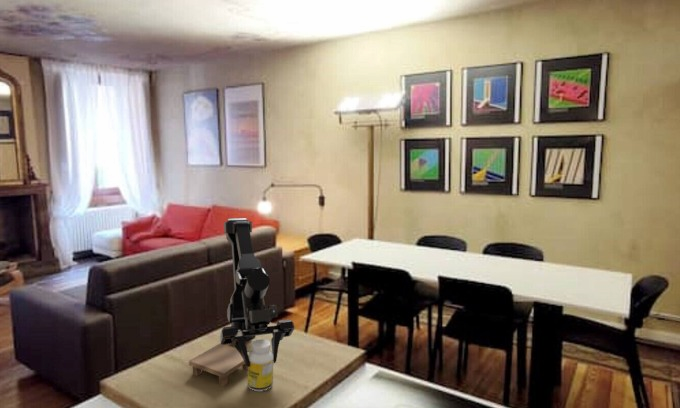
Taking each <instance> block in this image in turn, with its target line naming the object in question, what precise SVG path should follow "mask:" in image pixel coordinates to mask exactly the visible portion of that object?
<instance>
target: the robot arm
mask: <svg viewBox="0 0 680 408" xmlns="http://www.w3.org/2000/svg"><path fill="white" fill-rule="evenodd" d="M252 222H253V221H251V220H248V218H246V217H238V218H235V217H233V218H232V217H231V218H229V217H228V218H227V221H224V222H223V233H224V234H225V236H226V237H225V238H226V240H227V242H228V243H229V244H230V246H231V254H232V269H233V270H232V271H233V287H234V291H233V293H232V294H231V297H230V299H229V300H230V301H229V302H230V303H228V307H227V310H226V315H227V320H228V323H230V324H231V325H230V326H224V327H223V328H222V329H221V330H220V331H221V332H220V334H219V335H220V337H219V339H220V340H219V341H220V343H221V344H222V345H230V347H234V348H236V349H237V350H238V352H239V353H240V354H241V356H242V358H243V360H244V362H245V363H246V365H247V367H249V357H248V353H247V352H248V349H247V345H246V341H249V340H250V339H253V338H255V337H256V336H264V335H272V338H271V339H270V341H271V342H270V345H271V351H272V353H273V355H274V361H273V364H275V363H277V358H278V354H279V353H278V351H279V346H280V341H282V340H283V339H284V338H287V337H288V338H289V337H290V336H291V335H292V334H293V332H294V331H295V324H294V322H293V320H291V319H285V320H283V319H282V320H278V321H277V324H276V325H271V326H269V325H270V323H271V321H272V318H278V307H277V304H270V305H268V306H267V307H266V304H265V299H264V297H265V296H266V293H267V291H268V288H269V285H270V281H271V280H270V277H269V275H268V273H267V272H266V271H265V269H264V268H263V267H262V264H261V261H260V260H259V258H257V257H256V256H255V253H254V247H253V240H252V235H251V233H252V232H253V223H252Z"/></svg>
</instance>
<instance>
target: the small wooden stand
mask: <svg viewBox="0 0 680 408" xmlns="http://www.w3.org/2000/svg"><path fill="white" fill-rule="evenodd" d="M247 353H248V355H249V353H250V352H249V351H247ZM188 366H191V367H192V375H193V376H196V377H198V376H199V375H201V374H202V371H205V372H208V373H210V374H211V375H215V376H218V385H220V386H222V387H224V386H227V385H228V383H229V375H230V374H232V373H233V372H235V371H237V370H239V368H241V369H242V370H245V371H248V367H247V365H246V363H245V362H244V360H243V358H242V356H241V354H240V353H239V352H238V350H237V349H236V348H235V347H232V346H231V345H228V344H225V345H222V344H221V342H219V344H217V345H215V346H213V347H211V348H209V349H208V350H205V351H204V352H203V353H201V354H199V355H197V356H195V357H194V358H191V359H189V360H188Z"/></svg>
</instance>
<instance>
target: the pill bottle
mask: <svg viewBox="0 0 680 408" xmlns="http://www.w3.org/2000/svg"><path fill="white" fill-rule="evenodd" d="M248 357H249V367H248V370H247V386H248V389H250V390H251V389H252V390H251V391H253V390H254V392H264V391H263V390H265V391H267V390H266V389H268V388H269V389H271V388H272V386H273V383H274V380H273V379H274V355H273V353H272V345H271V342H270V340H268V339H256V340H254V341H253V342H252V343H251V351H250V352H249V355H248ZM269 389H268V390H269Z"/></svg>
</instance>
